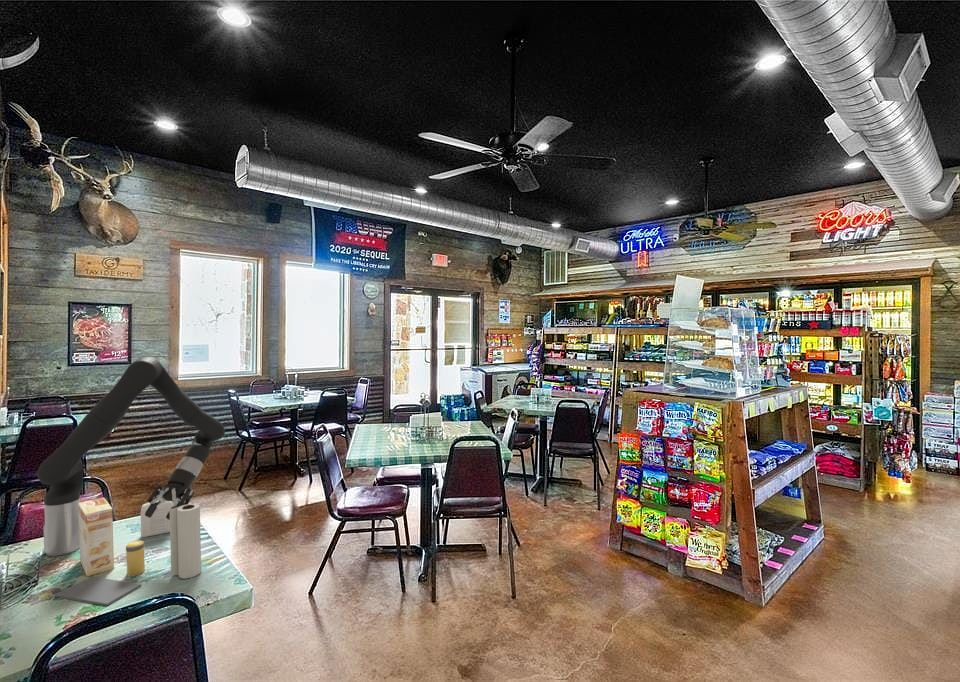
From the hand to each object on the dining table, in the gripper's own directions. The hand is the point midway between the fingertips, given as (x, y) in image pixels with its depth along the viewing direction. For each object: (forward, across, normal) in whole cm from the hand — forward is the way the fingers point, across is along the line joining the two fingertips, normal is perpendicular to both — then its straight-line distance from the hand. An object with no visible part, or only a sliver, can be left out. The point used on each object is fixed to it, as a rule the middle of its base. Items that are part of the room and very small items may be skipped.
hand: (157, 517), depth 154 cm
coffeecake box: (+15, -17, +5) cm, 23 cm away
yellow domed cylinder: (+16, 0, +4) cm, 16 cm away
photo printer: (-1, -18, +21) cm, 28 cm away
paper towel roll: (+14, +17, +6) cm, 23 cm away
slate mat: (+23, -1, -4) cm, 24 cm away
